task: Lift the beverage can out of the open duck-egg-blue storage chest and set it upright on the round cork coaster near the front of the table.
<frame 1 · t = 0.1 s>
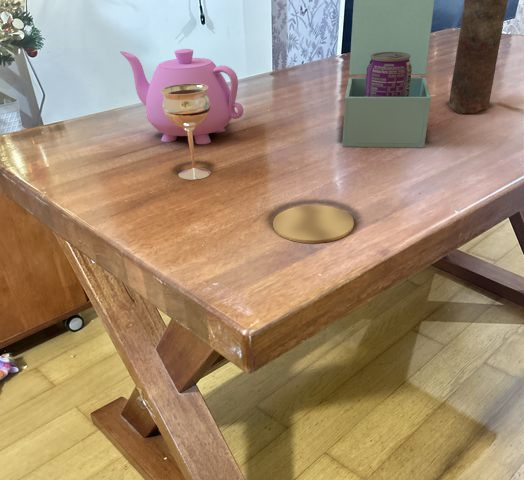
beverage can: (382, 135, 93), resting on chest
wineglass: (194, 174, 83), on the table
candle: (467, 110, 104), on the table
teapot: (188, 135, 99), on the table
chest: (382, 134, 94), on the table
coaster: (313, 224, 67), on the table
chest lid: (390, 27, 94), point 15 cm above the table, hinge at 105.0°
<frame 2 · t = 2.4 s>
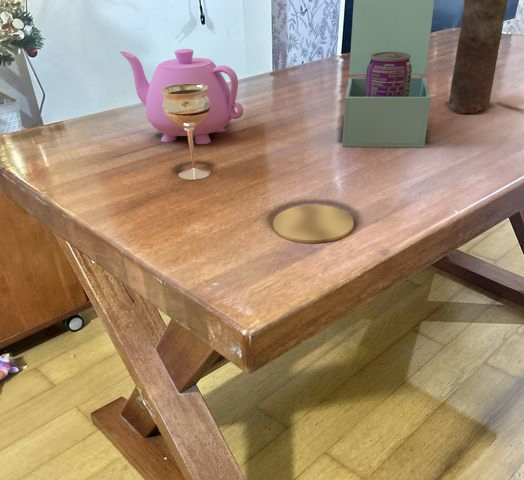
nothing on the table moved.
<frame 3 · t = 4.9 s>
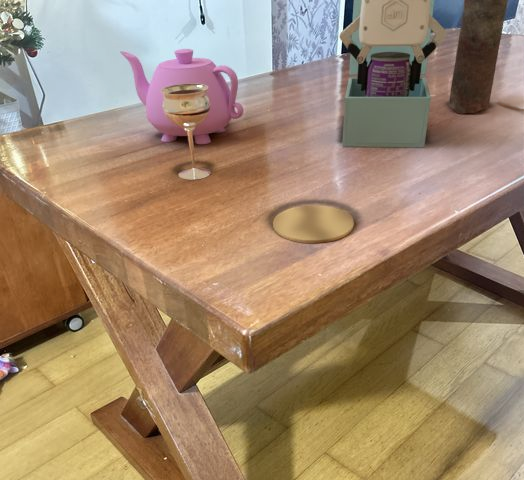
hand: (387, 88, 88), 8 cm above the table, tool pointing down, fingers closed on beverage can, 7 cm apart
beverage can: (382, 135, 93), resting on chest, touching gripper
everything else where it was.
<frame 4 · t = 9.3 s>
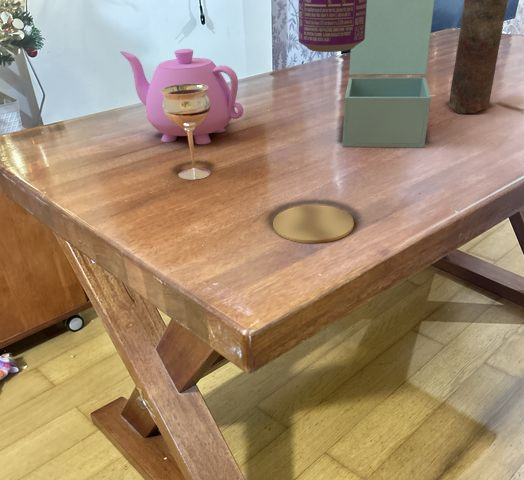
beverage can: (331, 50, 59), point 18 cm above the table, touching gripper
everything else where it was.
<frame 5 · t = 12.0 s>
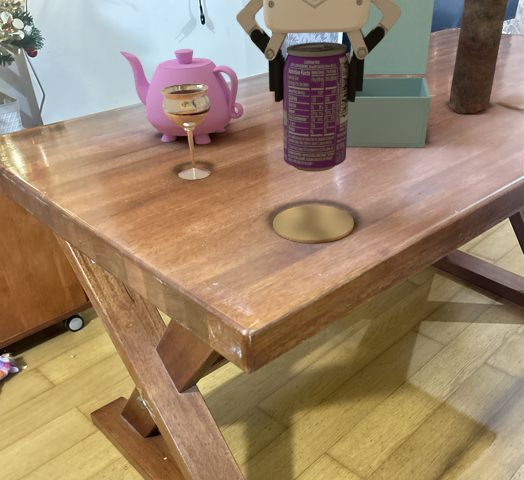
hand: (315, 97, 58), 15 cm above the table, tool pointing down, fingers closed on beverage can, 7 cm apart
beverage can: (314, 166, 63), point 7 cm above the table, touching gripper
everything else where it was.
when the fingers open (8 cm above the table, at t = 14.2 s): beverage can stays where it is, resting on coaster.
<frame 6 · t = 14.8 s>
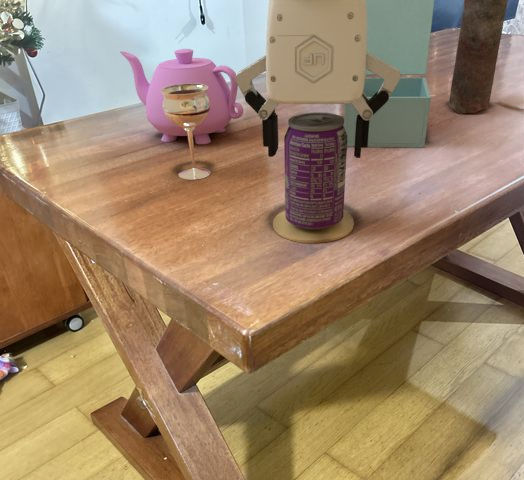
hand: (315, 153, 62), 9 cm above the table, tool pointing down, fingers open, 9 cm apart
beverage can: (314, 222, 67), resting on coaster
everything else where it was.
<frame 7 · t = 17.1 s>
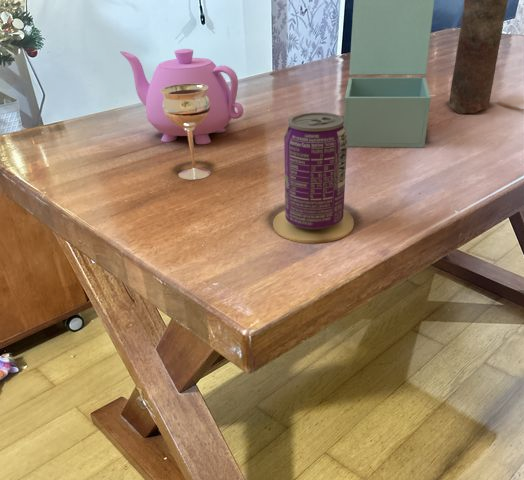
nothing on the table moved.
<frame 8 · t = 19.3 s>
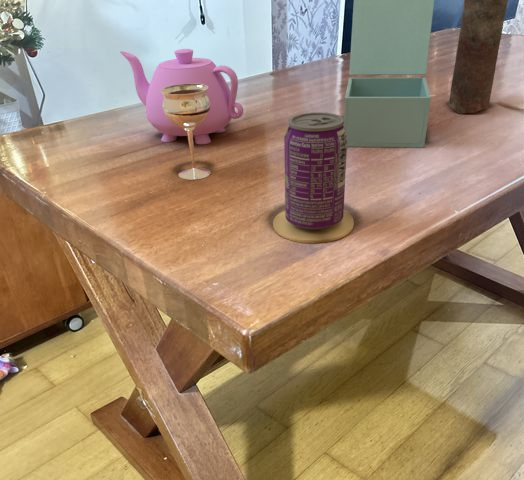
nothing on the table moved.
at the end: beverage can inside the target area on the coaster (0.1 cm from its centre), point 0.2 cm above the coaster's base; beverage can tilted 0°; the gripper is holding nothing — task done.
